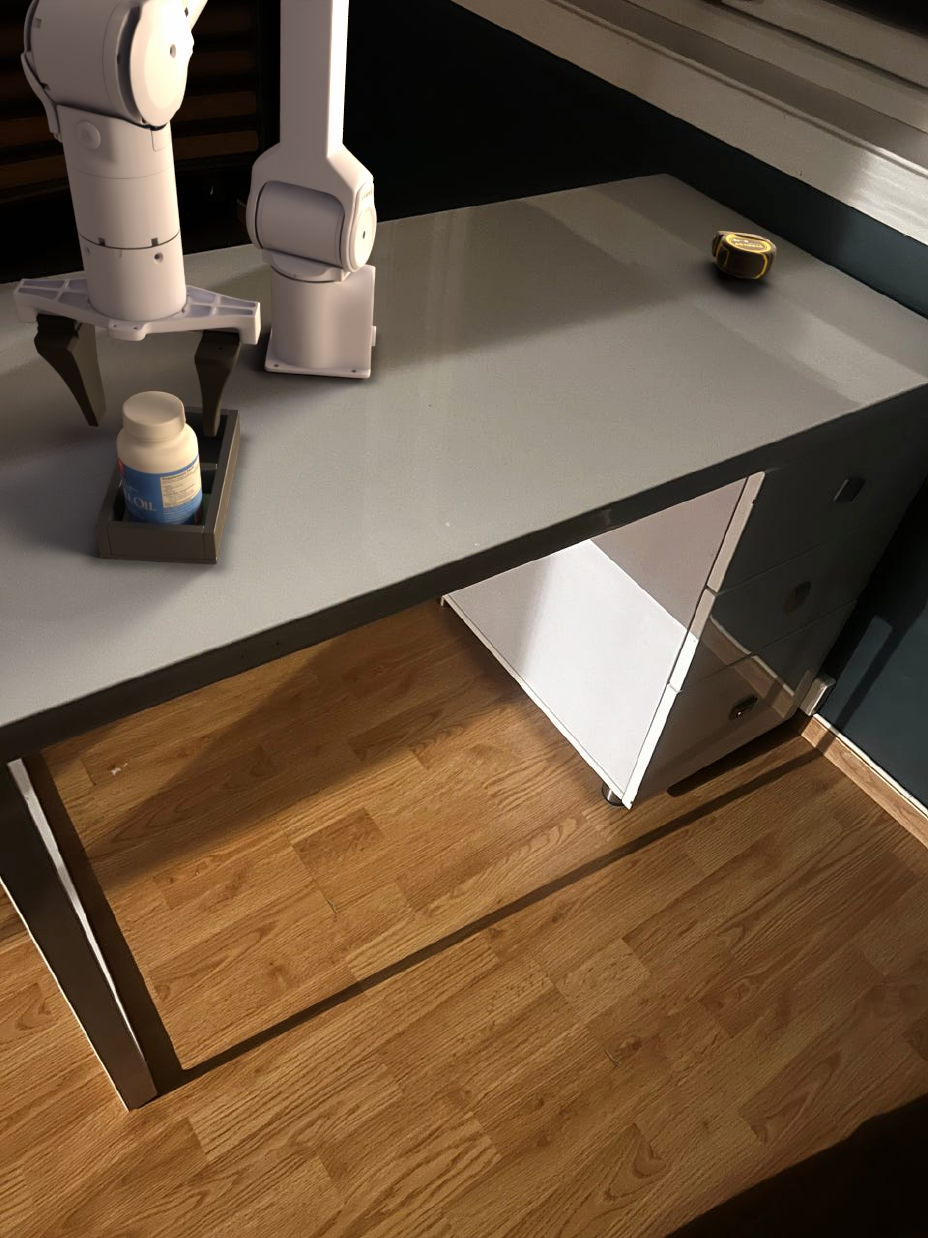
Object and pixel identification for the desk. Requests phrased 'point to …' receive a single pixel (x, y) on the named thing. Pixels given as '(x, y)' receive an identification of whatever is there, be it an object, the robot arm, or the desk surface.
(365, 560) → the desk surface
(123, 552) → the divided tray
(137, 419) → the pill bottle
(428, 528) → the desk surface
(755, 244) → the tape measure
